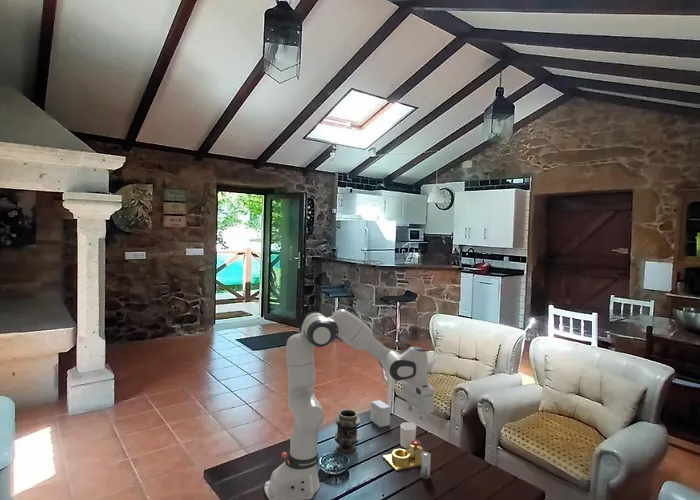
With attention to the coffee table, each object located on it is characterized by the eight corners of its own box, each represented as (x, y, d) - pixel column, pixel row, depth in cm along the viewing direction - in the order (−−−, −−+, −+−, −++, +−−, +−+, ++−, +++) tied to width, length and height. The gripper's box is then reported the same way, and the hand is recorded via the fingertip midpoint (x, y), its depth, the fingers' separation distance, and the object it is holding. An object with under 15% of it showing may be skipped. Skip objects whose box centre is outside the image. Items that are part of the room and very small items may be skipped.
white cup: (397, 446, 217) (397, 426, 216) (402, 439, 224) (403, 420, 223) (412, 451, 213) (413, 431, 212) (417, 444, 220) (418, 424, 219)
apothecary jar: (358, 456, 206) (360, 419, 205) (333, 455, 206) (334, 417, 205) (358, 443, 218) (360, 408, 217) (334, 442, 218) (335, 407, 217)
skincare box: (390, 425, 239) (391, 406, 239) (380, 427, 236) (381, 408, 236) (379, 417, 249) (380, 399, 248) (369, 419, 245) (370, 401, 245)
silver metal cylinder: (423, 479, 189) (424, 457, 188) (418, 474, 193) (419, 452, 192) (431, 478, 191) (432, 455, 190) (426, 473, 194) (427, 451, 194)
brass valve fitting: (395, 471, 195) (396, 454, 194) (382, 457, 206) (383, 441, 205) (428, 463, 202) (429, 447, 202) (414, 451, 213) (415, 435, 212)
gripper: (398, 377, 198) (398, 407, 199) (424, 393, 179) (423, 426, 180) (410, 375, 200) (410, 404, 201) (437, 391, 182) (436, 423, 183)
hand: (416, 415), depth 191 cm, fingers open, 8 cm apart
